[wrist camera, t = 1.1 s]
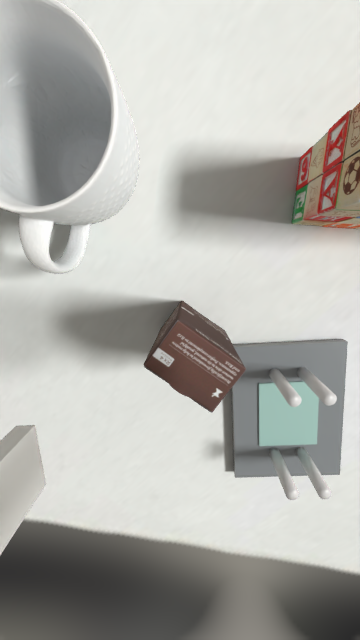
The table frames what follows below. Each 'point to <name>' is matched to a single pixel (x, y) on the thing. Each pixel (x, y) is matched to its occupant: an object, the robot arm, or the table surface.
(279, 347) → the grey pegged stand
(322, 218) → the stack of blocks
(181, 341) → the box
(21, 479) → the robot arm
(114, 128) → the mug
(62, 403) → the table surface
